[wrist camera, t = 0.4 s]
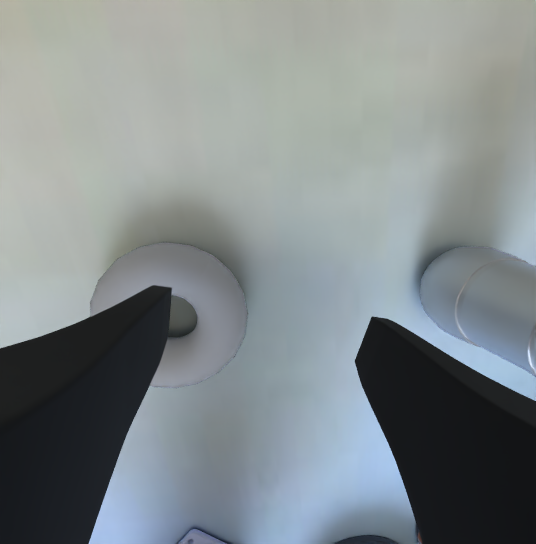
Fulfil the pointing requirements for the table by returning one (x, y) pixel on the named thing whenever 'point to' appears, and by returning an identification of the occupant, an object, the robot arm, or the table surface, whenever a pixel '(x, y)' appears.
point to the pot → (367, 540)
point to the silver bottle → (484, 301)
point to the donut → (193, 288)
